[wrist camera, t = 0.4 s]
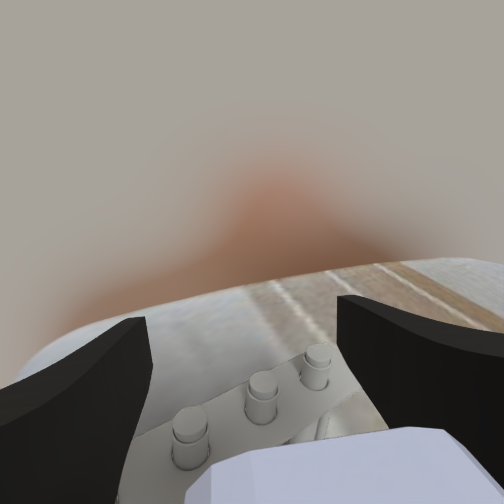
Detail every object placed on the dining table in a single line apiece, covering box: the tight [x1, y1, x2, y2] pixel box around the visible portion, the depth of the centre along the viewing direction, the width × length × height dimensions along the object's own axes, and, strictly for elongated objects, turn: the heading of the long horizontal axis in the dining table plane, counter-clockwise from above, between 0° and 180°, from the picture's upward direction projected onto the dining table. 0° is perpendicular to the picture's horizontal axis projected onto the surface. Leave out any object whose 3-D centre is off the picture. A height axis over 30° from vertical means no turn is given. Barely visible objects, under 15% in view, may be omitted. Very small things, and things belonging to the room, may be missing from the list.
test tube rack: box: [115, 342, 362, 504], centre depth 17 cm, size 25×4×13 cm, turn 125°
